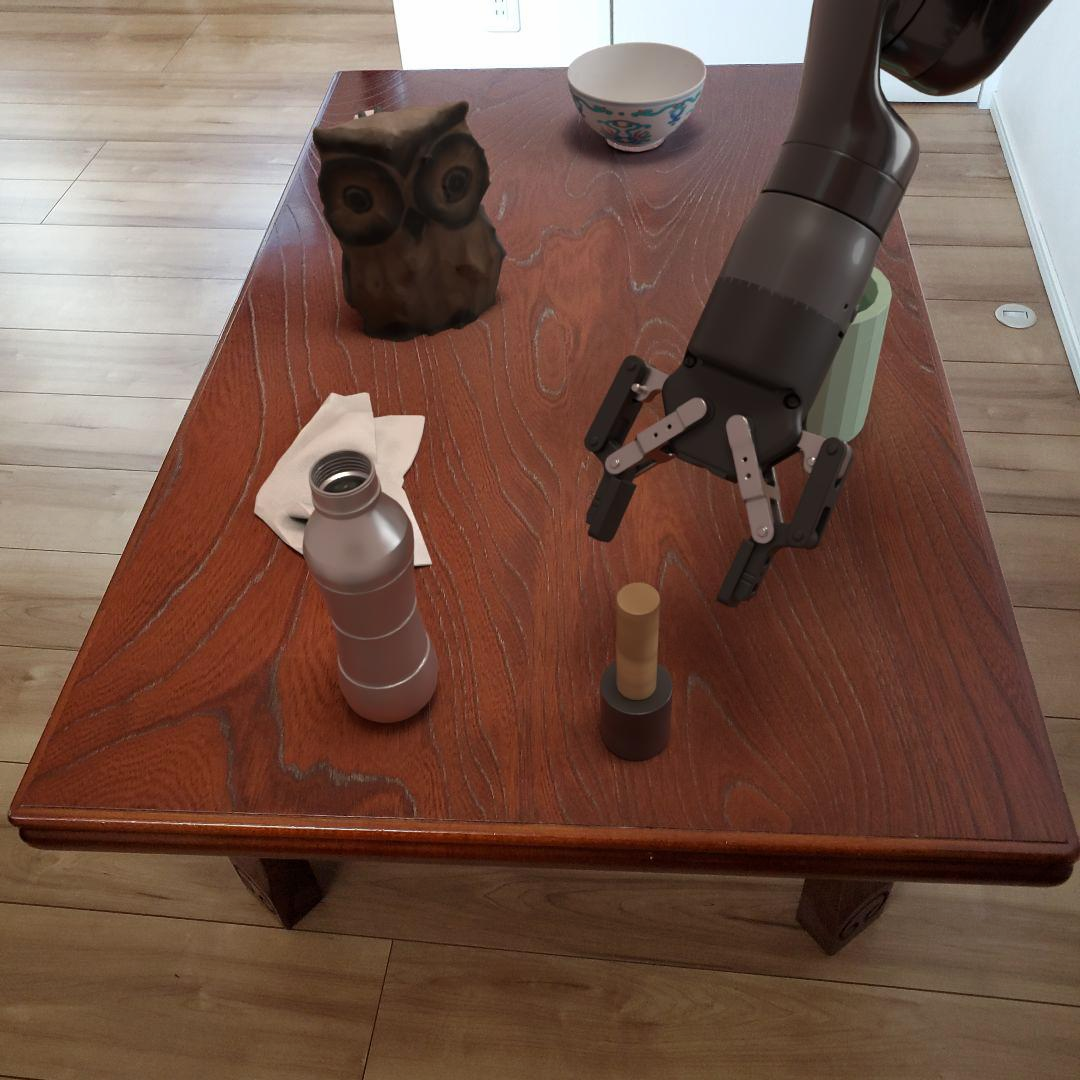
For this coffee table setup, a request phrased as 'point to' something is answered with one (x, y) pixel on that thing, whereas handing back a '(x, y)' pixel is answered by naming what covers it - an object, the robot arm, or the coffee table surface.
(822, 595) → the coffee table surface
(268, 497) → the cloth
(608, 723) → the peg in round base
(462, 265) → the owl
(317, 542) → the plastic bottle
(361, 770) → the coffee table surface
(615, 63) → the chinaware
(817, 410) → the cup
